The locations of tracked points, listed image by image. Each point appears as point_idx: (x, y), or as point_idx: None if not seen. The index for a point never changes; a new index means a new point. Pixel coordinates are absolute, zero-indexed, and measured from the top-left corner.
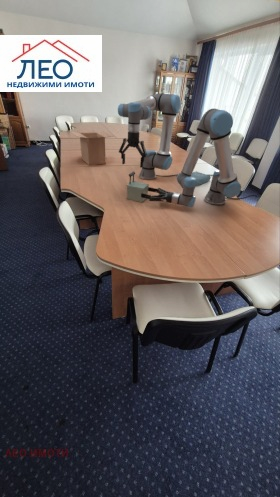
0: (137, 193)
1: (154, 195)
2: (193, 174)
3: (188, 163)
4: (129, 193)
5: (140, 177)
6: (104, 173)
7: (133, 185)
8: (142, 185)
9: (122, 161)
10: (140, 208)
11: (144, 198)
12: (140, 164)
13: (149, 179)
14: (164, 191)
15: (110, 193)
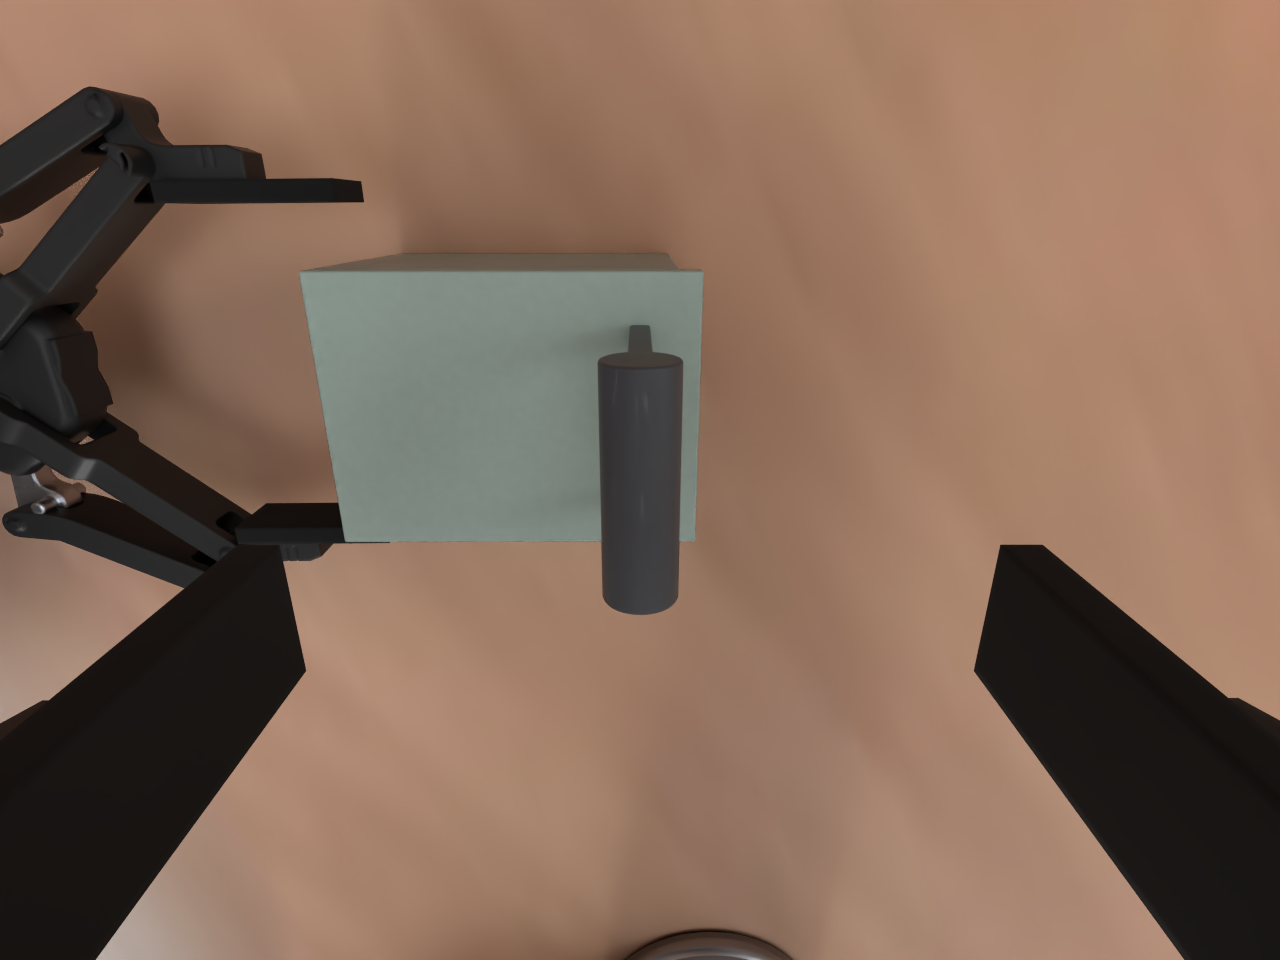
0: (461, 261)
1: (91, 238)
2: None
3: None
4: (622, 259)
5: (775, 954)
6: None
7: (553, 319)
8: (401, 417)
9: (1098, 598)
10: (319, 16)
11: None
12: (210, 603)
13: (650, 949)
14: (84, 519)
15: (977, 315)
